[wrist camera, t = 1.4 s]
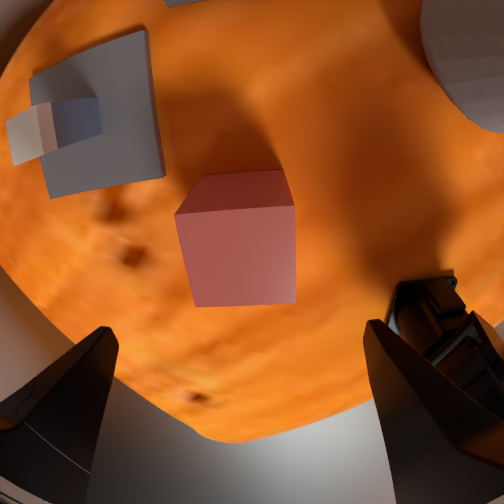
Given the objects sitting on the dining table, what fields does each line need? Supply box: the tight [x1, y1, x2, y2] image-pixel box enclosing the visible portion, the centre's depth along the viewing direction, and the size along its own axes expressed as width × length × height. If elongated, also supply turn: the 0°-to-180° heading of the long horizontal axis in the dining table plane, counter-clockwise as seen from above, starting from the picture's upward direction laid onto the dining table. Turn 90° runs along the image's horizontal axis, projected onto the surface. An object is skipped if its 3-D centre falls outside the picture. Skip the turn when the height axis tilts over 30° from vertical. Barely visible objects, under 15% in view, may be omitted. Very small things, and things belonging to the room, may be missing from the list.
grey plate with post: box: [6, 30, 166, 199], centre depth 13 cm, size 10×10×7 cm
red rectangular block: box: [174, 169, 296, 307], centre depth 16 cm, size 5×5×7 cm
